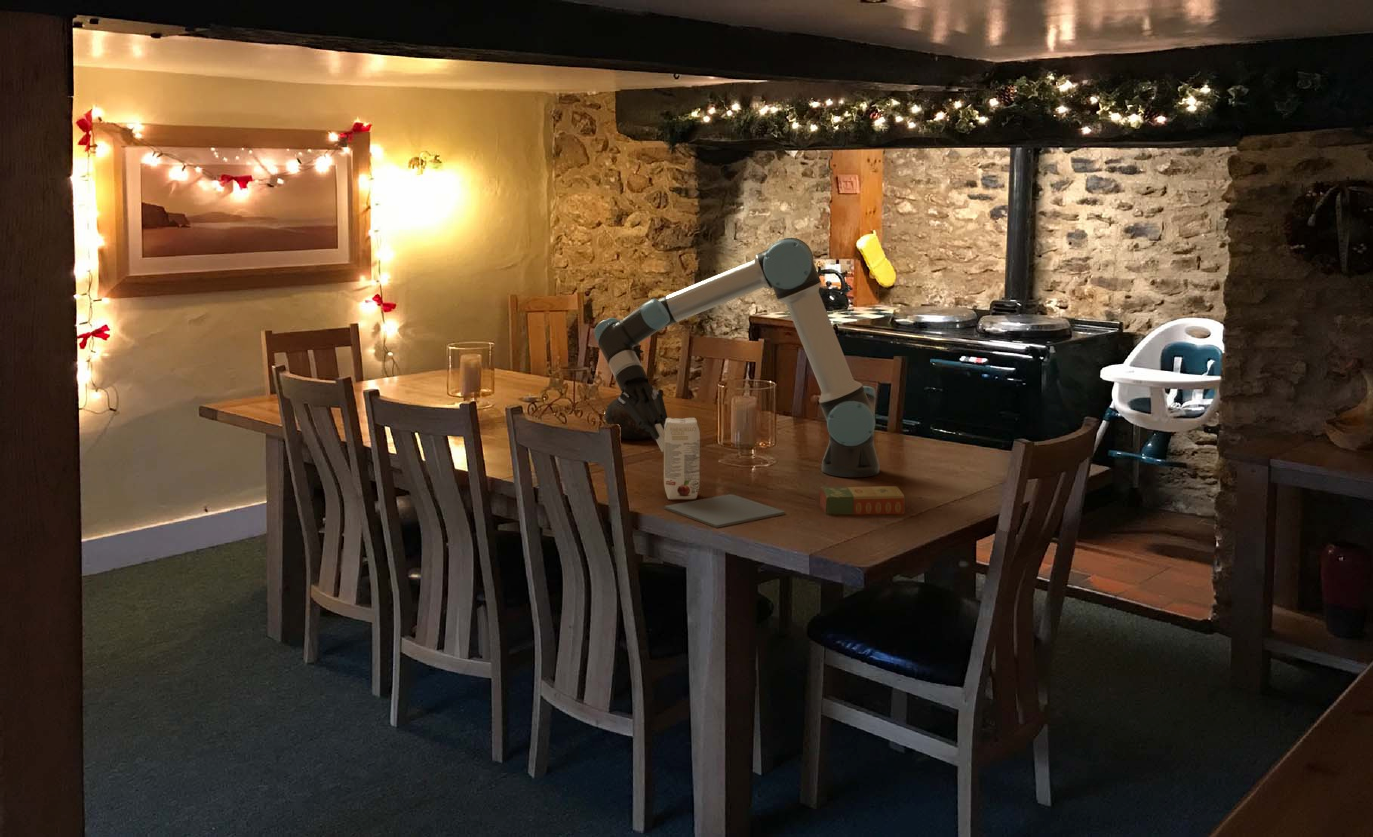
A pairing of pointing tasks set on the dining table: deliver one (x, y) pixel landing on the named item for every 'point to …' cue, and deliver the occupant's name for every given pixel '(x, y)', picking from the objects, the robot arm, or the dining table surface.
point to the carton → (862, 500)
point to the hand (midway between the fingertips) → (666, 448)
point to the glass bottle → (626, 414)
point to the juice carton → (681, 458)
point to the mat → (724, 510)
